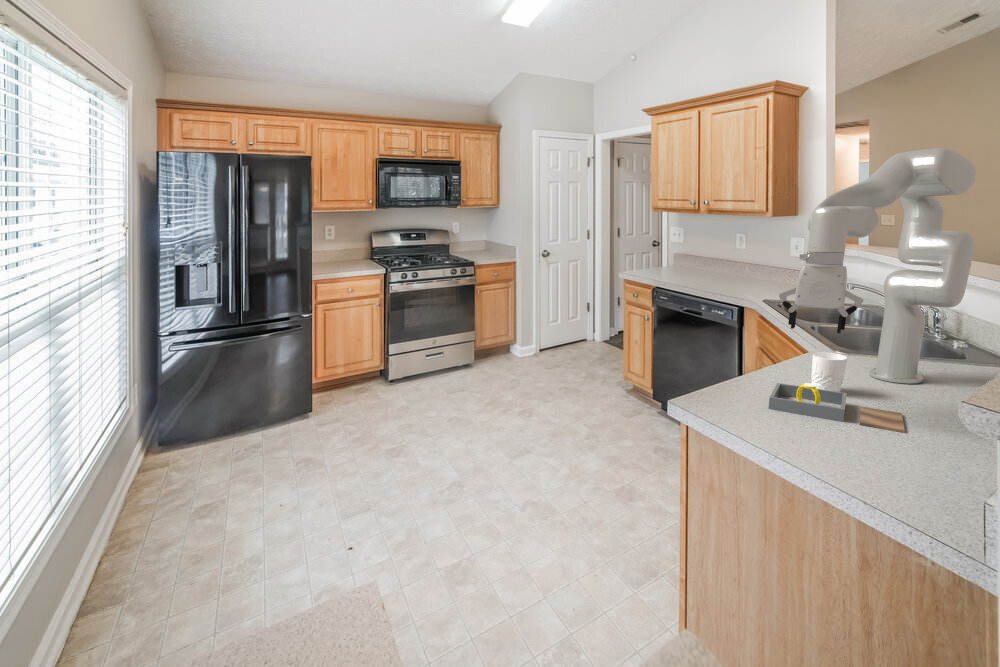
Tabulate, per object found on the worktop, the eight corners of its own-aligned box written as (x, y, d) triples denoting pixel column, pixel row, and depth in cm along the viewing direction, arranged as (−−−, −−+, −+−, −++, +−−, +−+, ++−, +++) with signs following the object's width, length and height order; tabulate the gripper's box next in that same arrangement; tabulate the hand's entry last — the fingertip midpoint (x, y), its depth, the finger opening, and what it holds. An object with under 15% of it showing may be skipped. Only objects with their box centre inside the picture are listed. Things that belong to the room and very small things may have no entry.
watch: (820, 411, 125) (825, 388, 123) (811, 412, 124) (816, 390, 122) (801, 401, 130) (805, 380, 128) (792, 402, 130) (796, 381, 128)
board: (860, 408, 125) (860, 406, 124) (901, 415, 120) (901, 413, 120) (859, 424, 115) (860, 422, 115) (904, 432, 110) (904, 430, 110)
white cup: (847, 396, 133) (852, 360, 131) (815, 395, 135) (819, 359, 133) (834, 387, 141) (839, 352, 139) (804, 385, 142) (808, 351, 140)
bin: (776, 393, 137) (777, 382, 136) (845, 404, 128) (846, 393, 127) (768, 408, 126) (769, 397, 125) (843, 421, 117) (844, 409, 116)
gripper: (781, 259, 121) (773, 328, 125) (869, 262, 111) (858, 337, 115) (785, 257, 127) (777, 324, 131) (869, 260, 117) (858, 331, 121)
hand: (815, 330), depth 123 cm, fingers open, 9 cm apart
